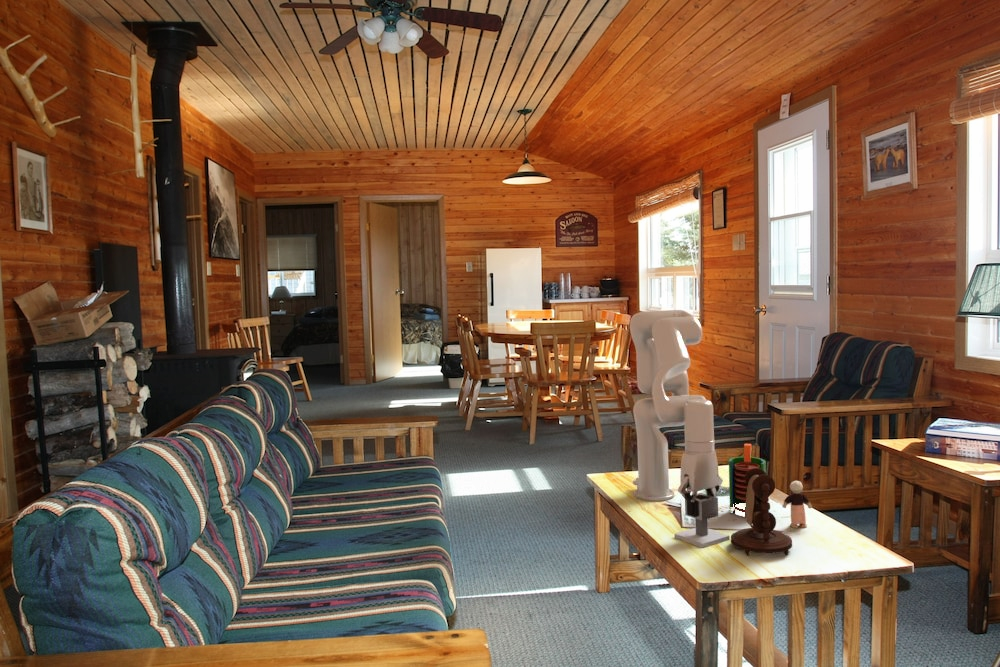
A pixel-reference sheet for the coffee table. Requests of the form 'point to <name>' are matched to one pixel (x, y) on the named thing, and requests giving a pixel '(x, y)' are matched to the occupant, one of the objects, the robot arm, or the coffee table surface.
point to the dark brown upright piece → (760, 518)
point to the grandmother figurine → (797, 505)
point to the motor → (742, 475)
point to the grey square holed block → (705, 506)
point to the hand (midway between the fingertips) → (701, 512)
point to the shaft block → (702, 535)
